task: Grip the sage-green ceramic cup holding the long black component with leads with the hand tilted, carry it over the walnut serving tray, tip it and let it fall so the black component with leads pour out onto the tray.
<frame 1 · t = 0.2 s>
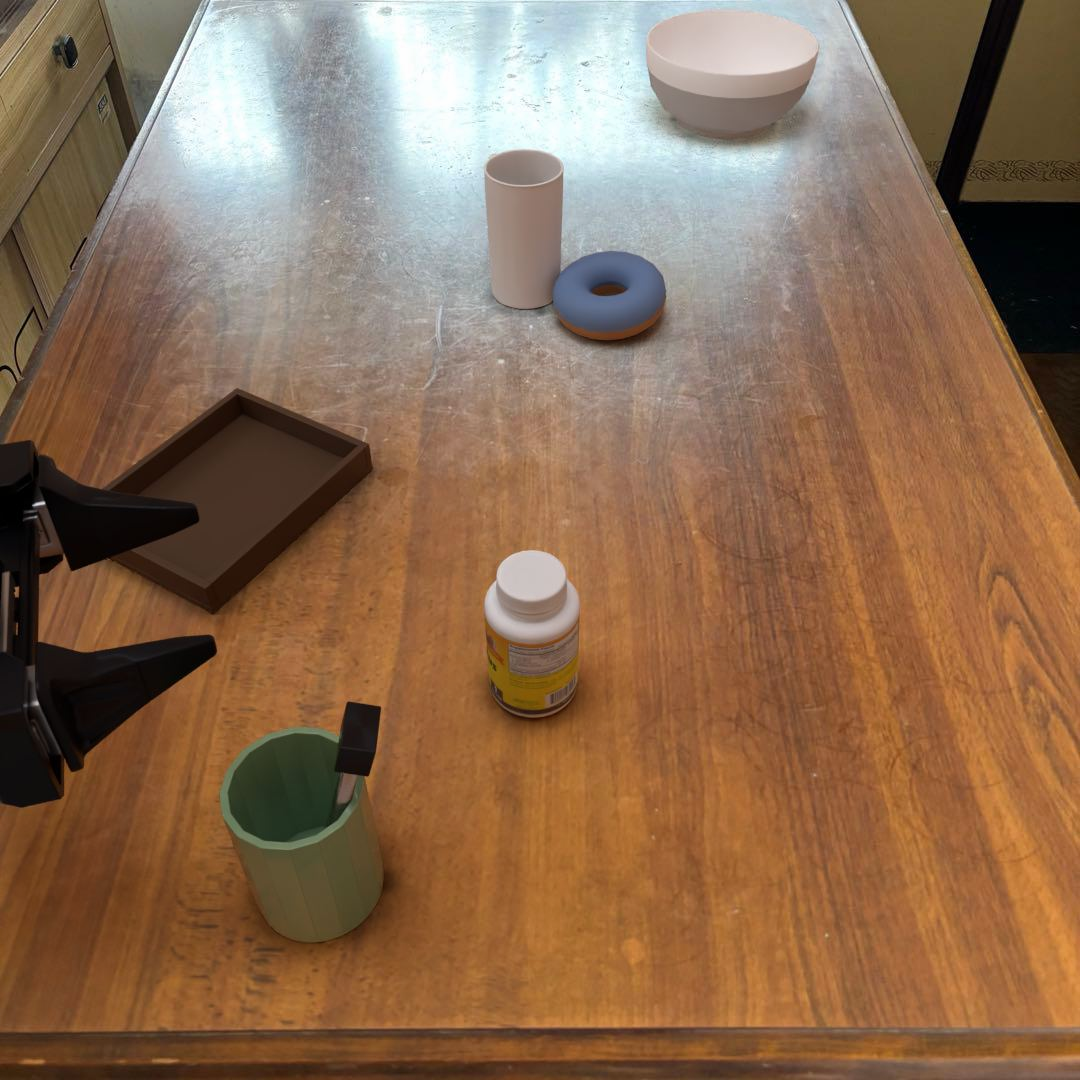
hand: (206, 574, 54), 16 cm above the table, tool horizontal, fingers open, 9 cm apart
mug: (517, 284, 102), on the table
doughnut: (608, 319, 98), on the table
black component with leads: (319, 879, 59), resting on cup
tray: (229, 503, 81), on the table
cup: (320, 882, 60), on the table, touching black component with leads
supplement bottle: (533, 688, 69), on the table
bowl: (722, 120, 127), on the table
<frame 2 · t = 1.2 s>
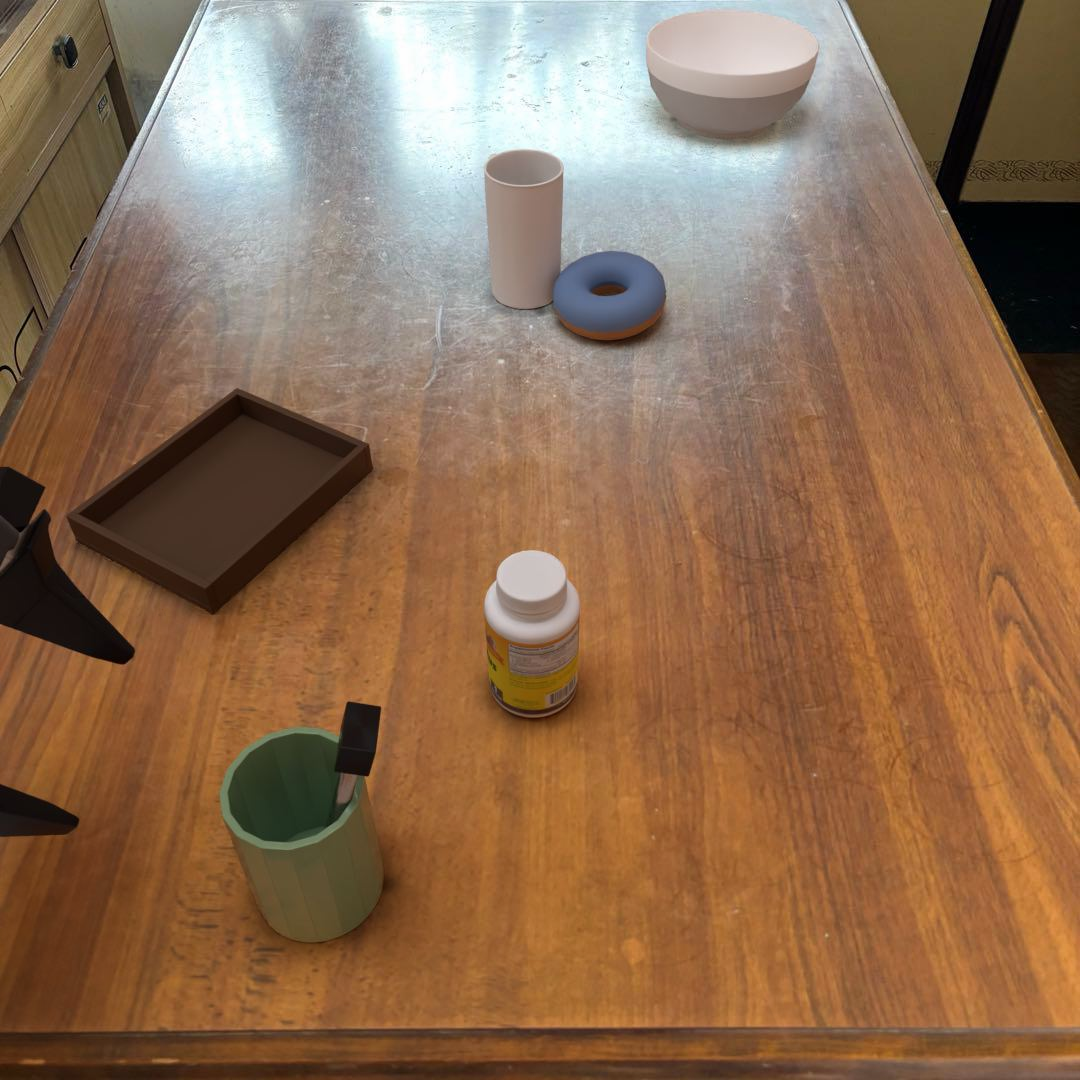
hand: (104, 736, 50), 14 cm above the table, tool tilted 45°, fingers open, 9 cm apart
nothing on the table moved.
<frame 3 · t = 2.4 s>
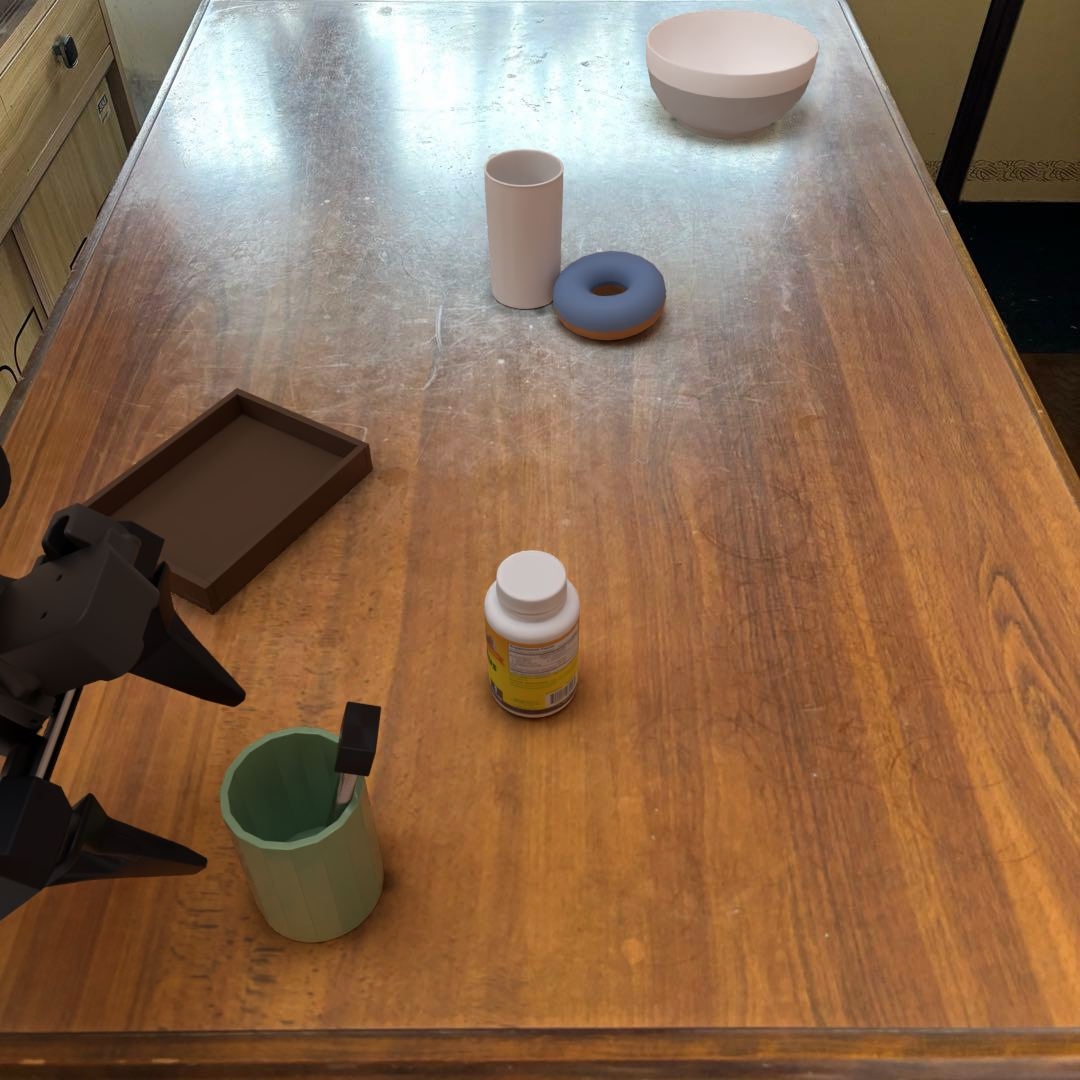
hand: (223, 778, 52), 10 cm above the table, tool tilted 45°, fingers open, 9 cm apart
nothing on the table moved.
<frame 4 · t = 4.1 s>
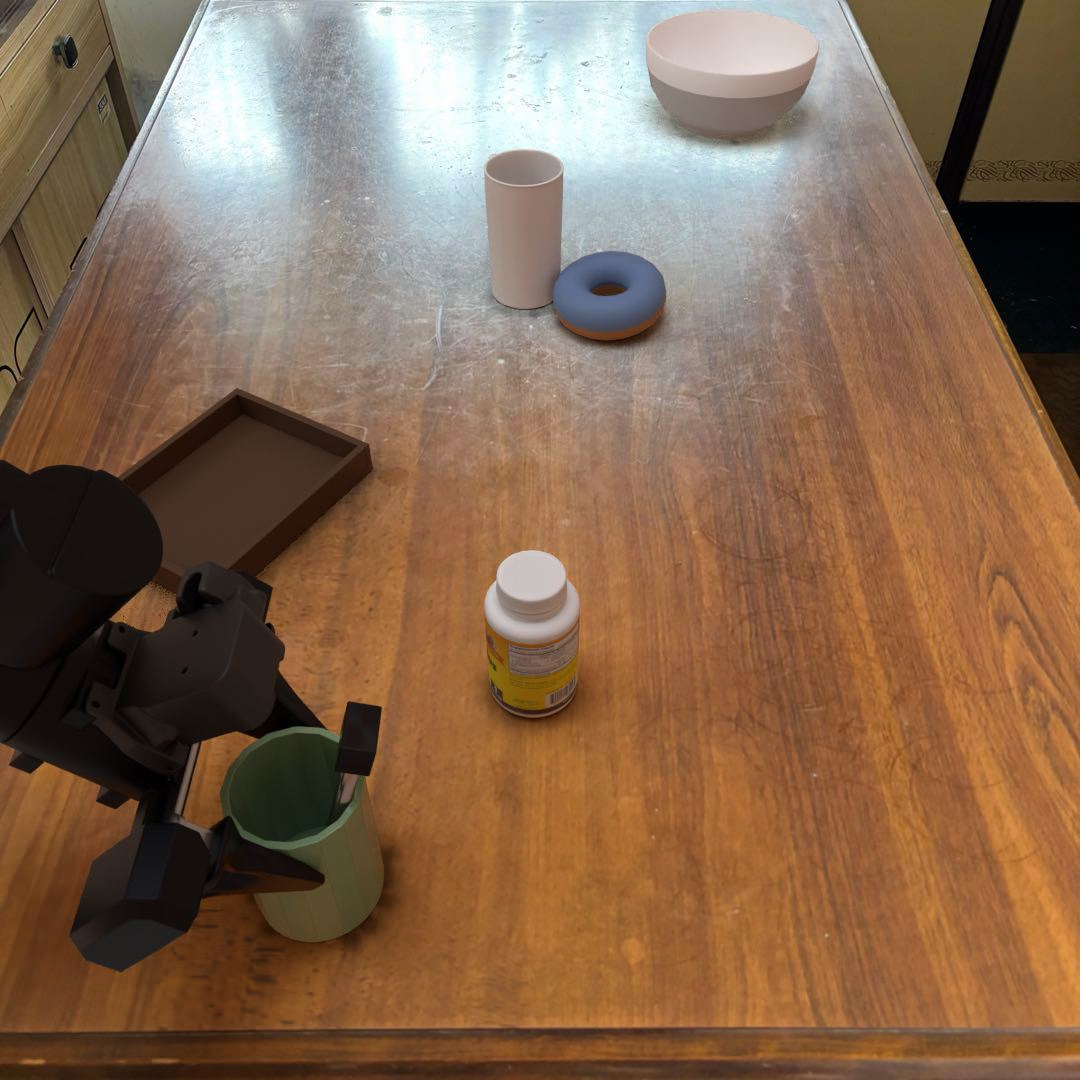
hand: (330, 817, 55), 7 cm above the table, tool tilted 45°, fingers closed on cup, 7 cm apart
cup: (321, 882, 60), on the table, touching gripper, black component with leads
everything else where it was.
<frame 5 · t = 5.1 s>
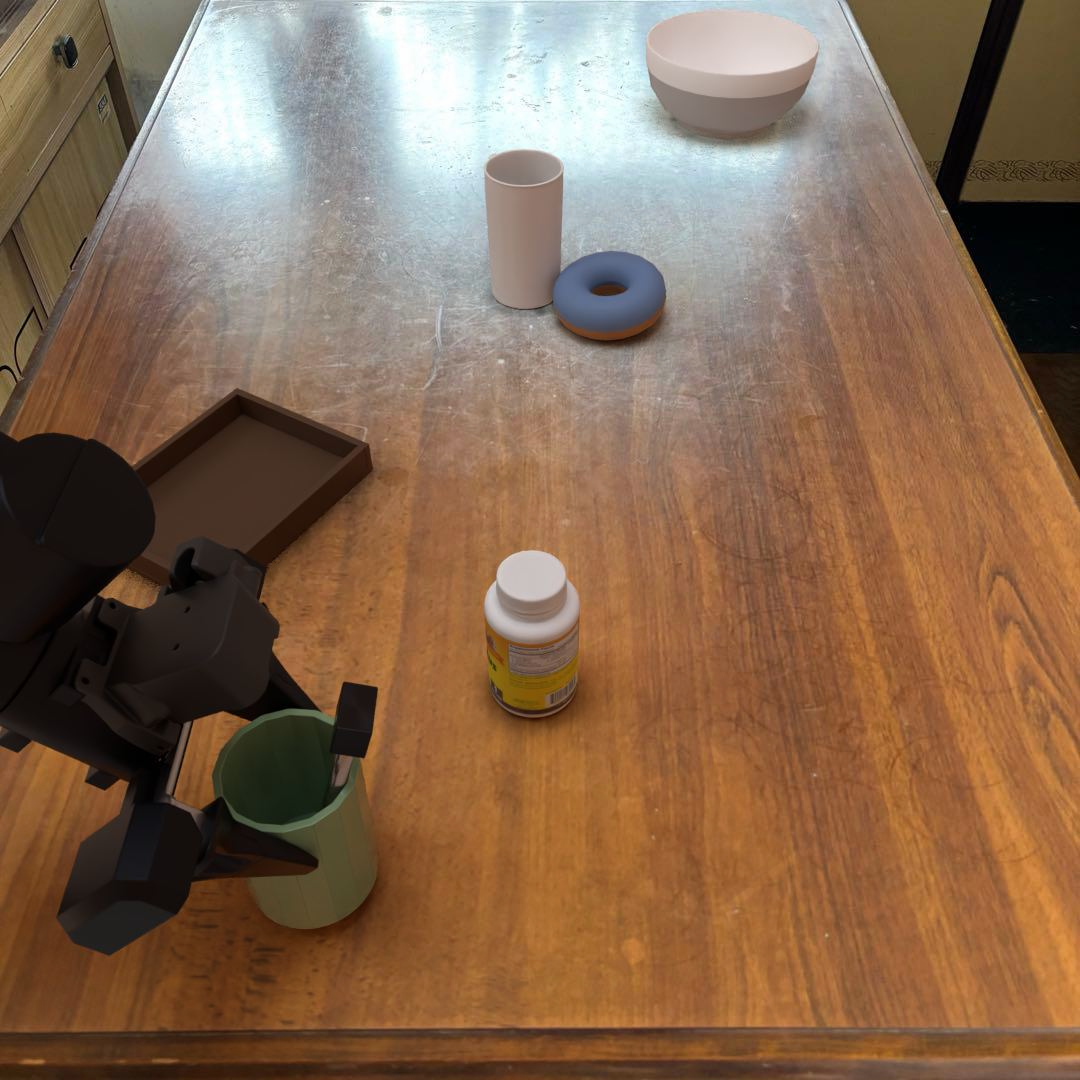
hand: (323, 801, 54), 8 cm above the table, tool tilted 45°, fingers closed on cup, 7 cm apart
black component with leads: (313, 865, 58), point 2 cm above the table, touching cup
cup: (314, 868, 59), point 1 cm above the table, touching gripper, black component with leads
everything else where it was.
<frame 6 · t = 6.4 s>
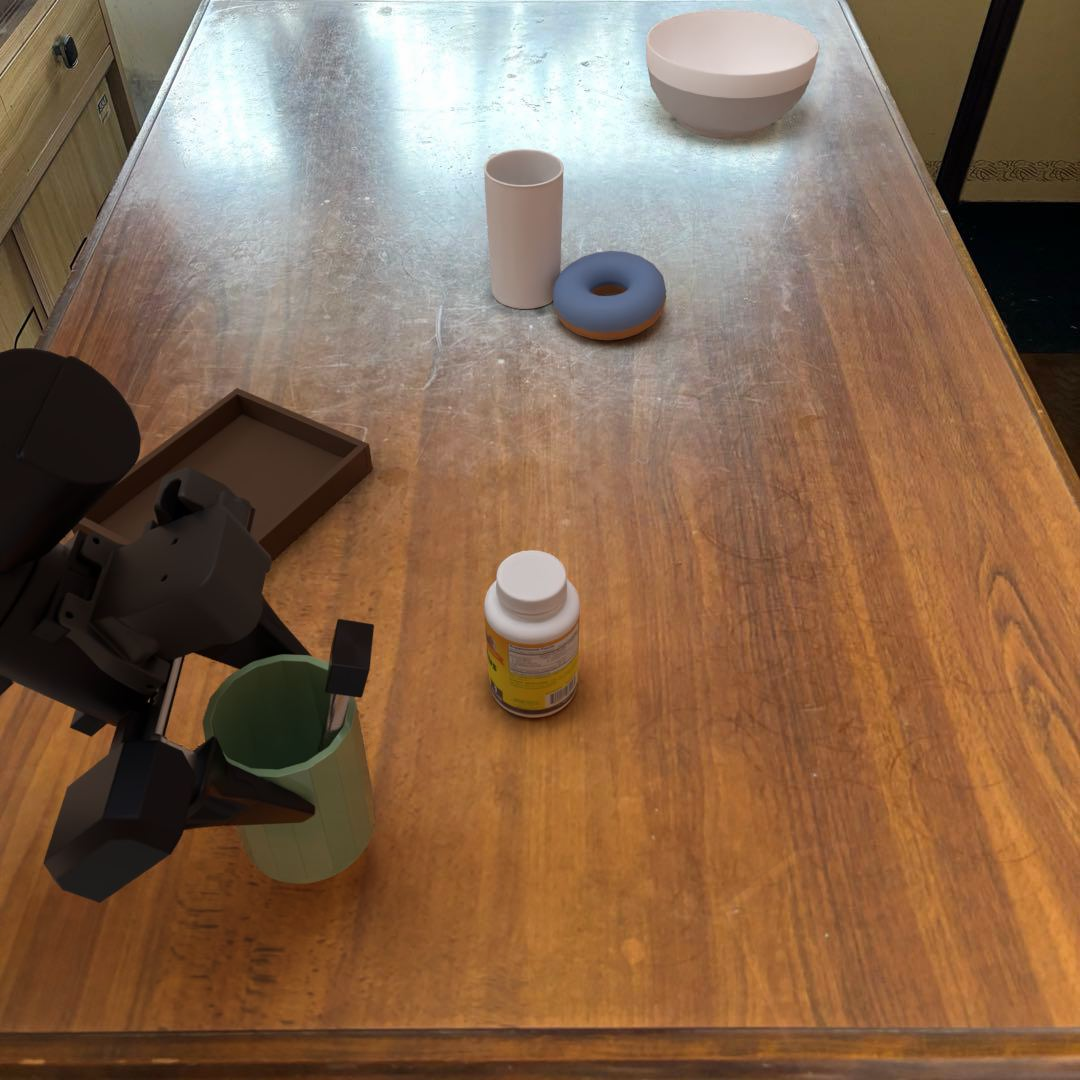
hand: (318, 748, 52), 11 cm above the table, tool tilted 45°, fingers closed on cup, 7 cm apart
black component with leads: (308, 820, 57), point 5 cm above the table, touching cup
cup: (309, 823, 57), point 5 cm above the table, touching gripper, black component with leads
everything else where it was.
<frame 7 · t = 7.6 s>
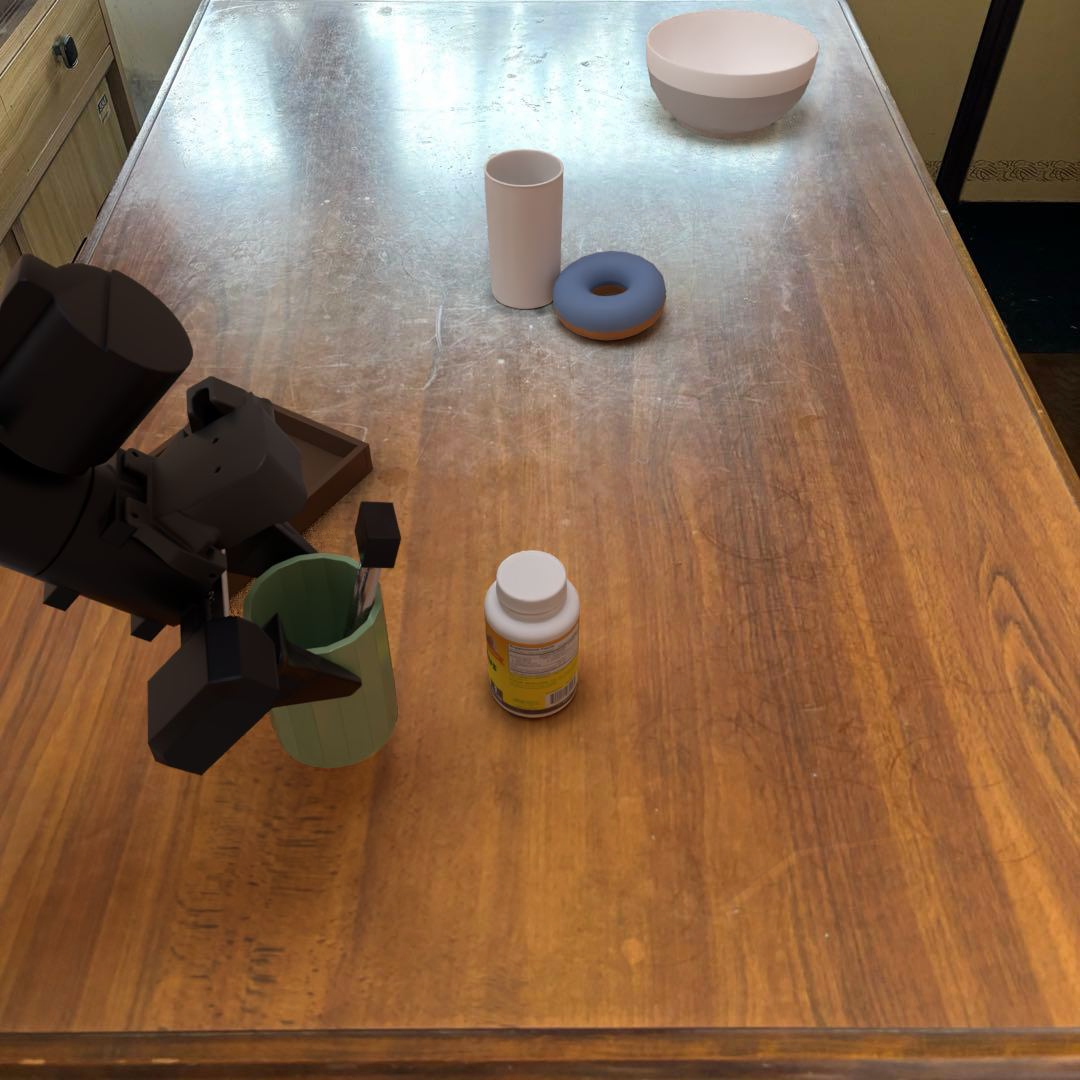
hand: (347, 634, 57), 12 cm above the table, tool tilted 45°, fingers closed on cup, 7 cm apart
black component with leads: (335, 713, 61), point 5 cm above the table, touching cup
cup: (336, 716, 61), point 5 cm above the table, touching gripper, black component with leads
everything else where it was.
when the fingers open (8 cm above the table, at t = 13.6 s): cup moves 2 cm and tips over, resting on tray.
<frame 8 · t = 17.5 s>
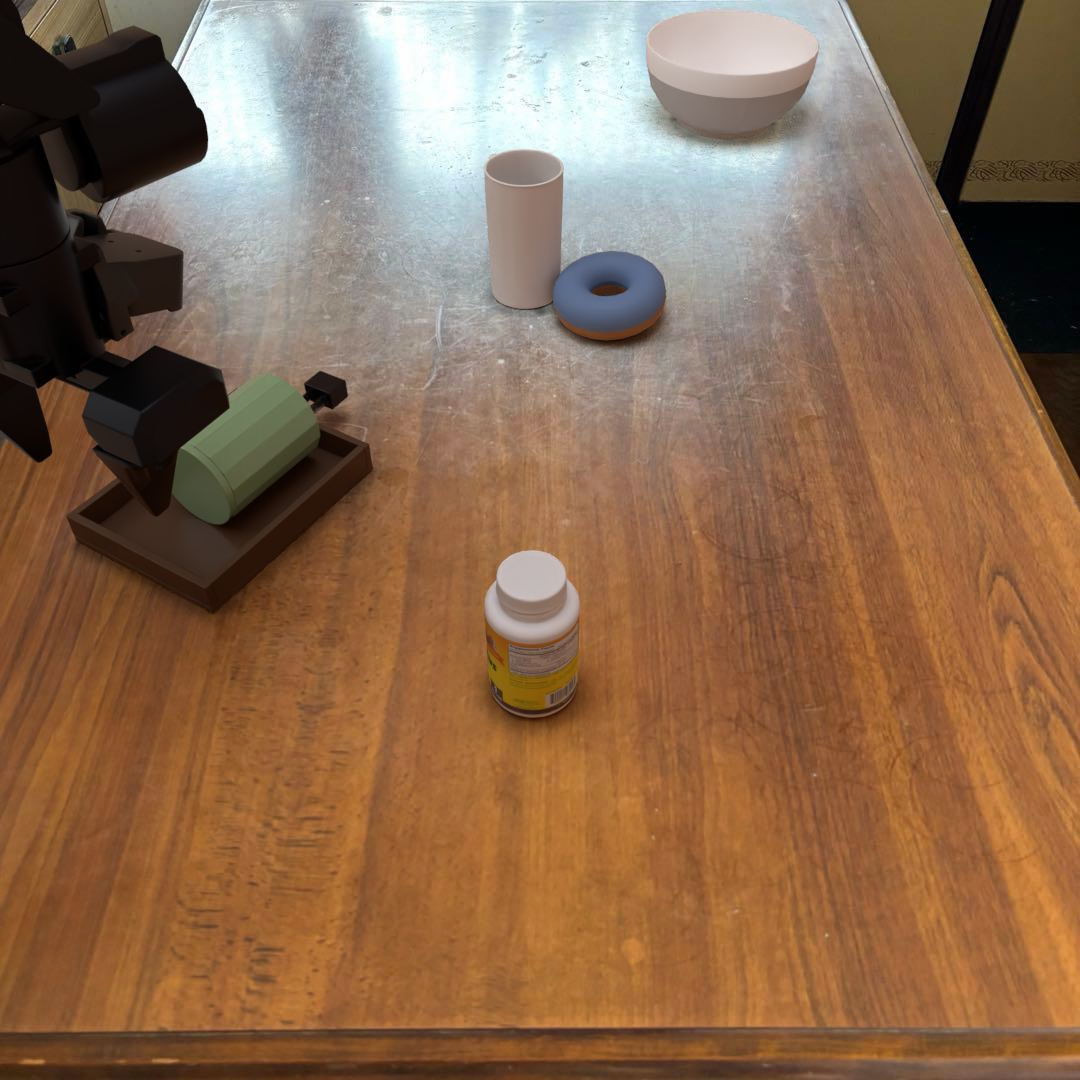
hand: (101, 483, 63), 13 cm above the table, tool pointing down, fingers open, 9 cm apart
black component with leads: (205, 489, 78), point 3 cm above the table, tilted 78°, touching tray
cup: (192, 485, 77), point 4 cm above the table, tilted 90°, touching tray
everything else where it was.
at the end: black component with leads inside the target area in the tray (1.8 cm from its centre), point 2.8 cm above the tray's base; black component with leads touching tray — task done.
